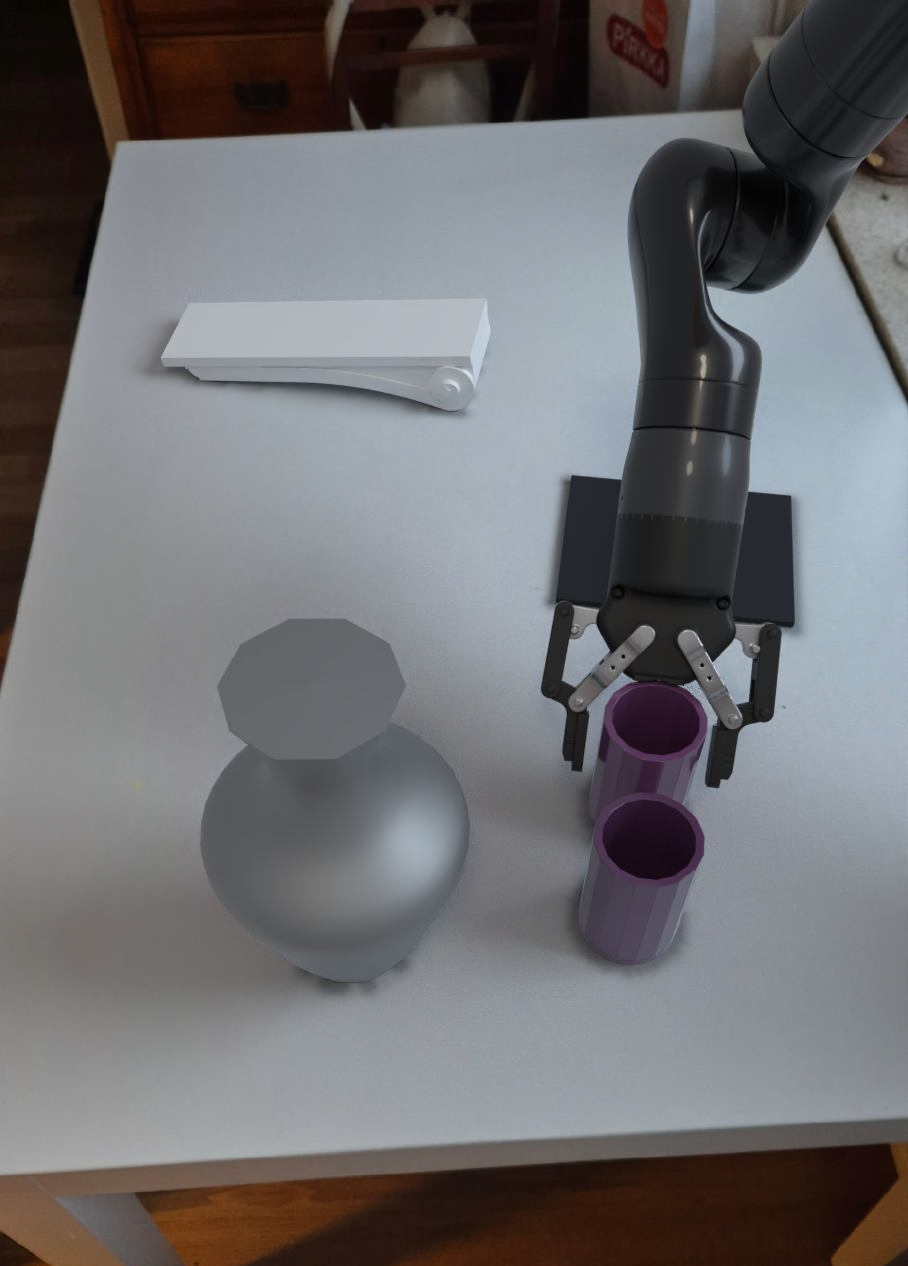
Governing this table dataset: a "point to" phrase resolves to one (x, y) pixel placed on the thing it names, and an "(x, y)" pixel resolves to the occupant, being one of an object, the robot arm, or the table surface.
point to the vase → (330, 804)
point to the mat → (760, 561)
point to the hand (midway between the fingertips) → (644, 777)
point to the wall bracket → (340, 345)
